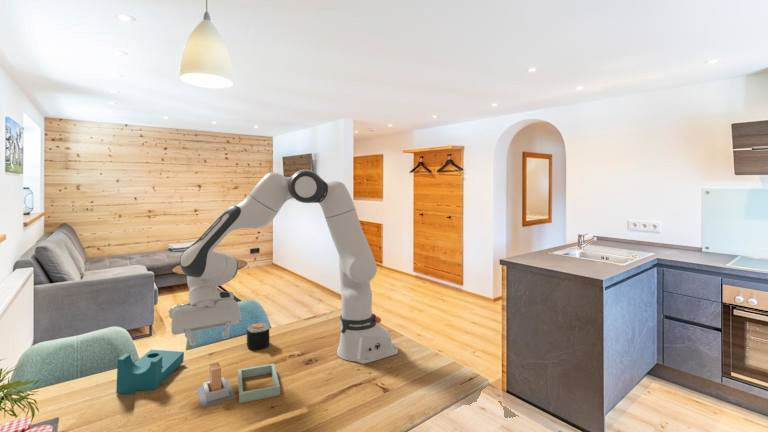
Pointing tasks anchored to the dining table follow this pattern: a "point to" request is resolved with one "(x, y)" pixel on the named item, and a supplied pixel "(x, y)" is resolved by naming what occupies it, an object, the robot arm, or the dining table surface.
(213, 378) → the orange rectangular block
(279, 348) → the dining table surface
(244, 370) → the tray
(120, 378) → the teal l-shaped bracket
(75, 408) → the dining table surface
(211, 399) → the grey socket base plate
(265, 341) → the sushi
